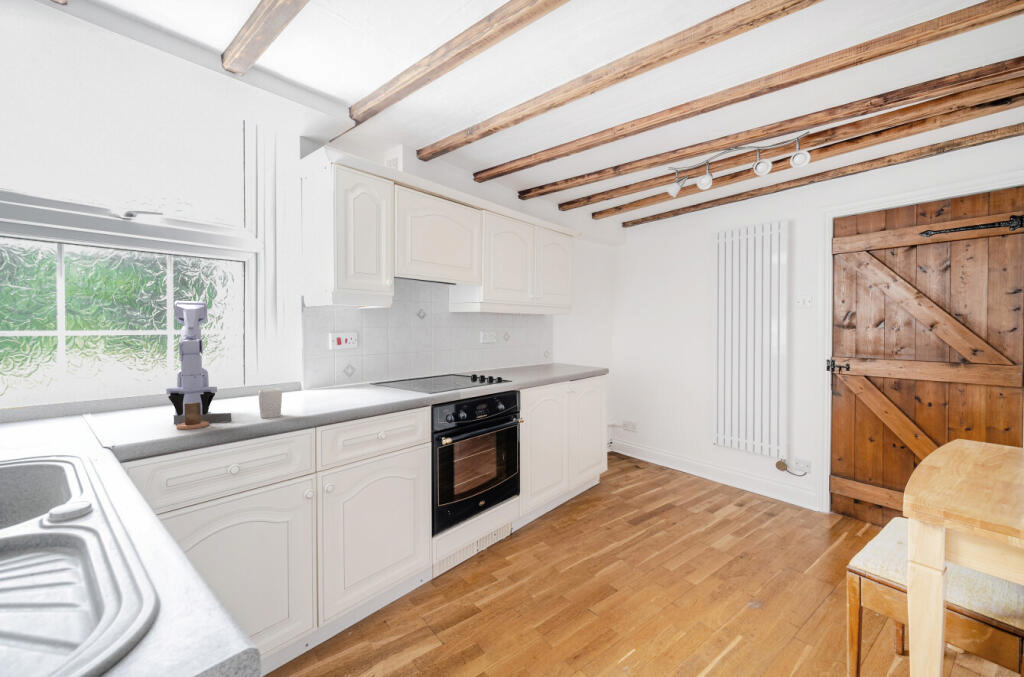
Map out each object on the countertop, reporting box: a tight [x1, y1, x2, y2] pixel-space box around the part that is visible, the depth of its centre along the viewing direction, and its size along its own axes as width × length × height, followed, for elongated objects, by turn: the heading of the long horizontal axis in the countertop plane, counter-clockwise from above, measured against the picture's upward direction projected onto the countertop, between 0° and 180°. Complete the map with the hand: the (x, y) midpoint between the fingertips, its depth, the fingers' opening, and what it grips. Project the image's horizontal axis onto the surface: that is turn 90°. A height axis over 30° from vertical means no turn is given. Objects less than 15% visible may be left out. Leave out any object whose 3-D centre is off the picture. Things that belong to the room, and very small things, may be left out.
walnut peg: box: [184, 402, 201, 425], centre depth 148 cm, size 4×4×7 cm
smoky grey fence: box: [173, 412, 232, 425], centre depth 155 cm, size 18×1×3 cm, turn 100°
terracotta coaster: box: [175, 421, 210, 431], centre depth 149 cm, size 9×9×1 cm
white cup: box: [257, 388, 283, 419], centre depth 165 cm, size 8×8×10 cm
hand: (192, 414), depth 148 cm, fingers open, 7 cm apart
